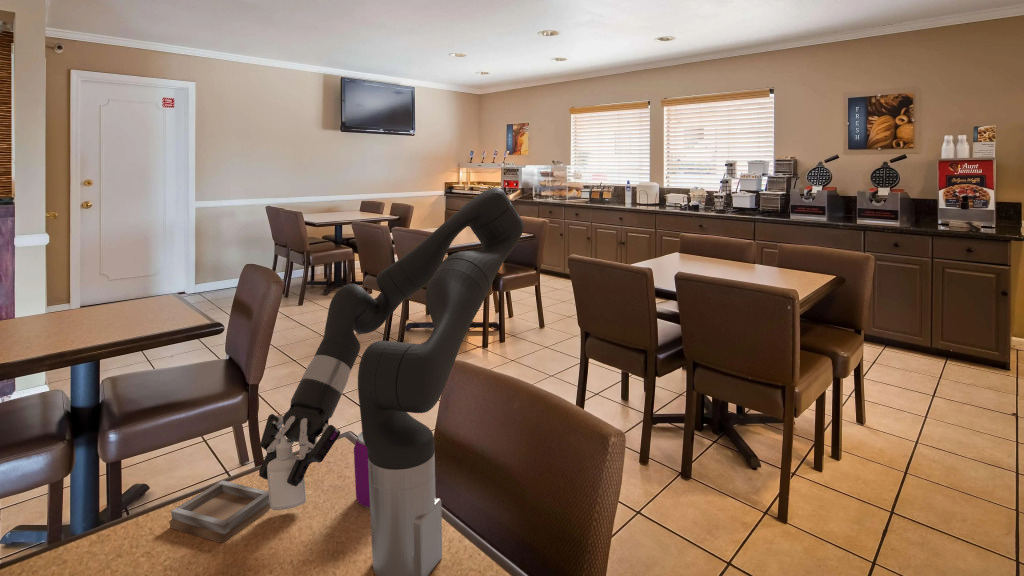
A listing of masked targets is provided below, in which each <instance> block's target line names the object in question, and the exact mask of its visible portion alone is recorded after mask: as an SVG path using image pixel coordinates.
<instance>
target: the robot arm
mask: <svg viewBox="0 0 1024 576" xmlns="http://www.w3.org/2000/svg"><path fill="white" fill-rule="evenodd" d="M524 226H525V224H524V221H523V219H522V217H521V215H520V214H519V212H518V210H517V209H516V208H515V206H514V205H513V203H512V201H511V200H510V198H509V197H508V195H507V193H505V191H504V190H503V189H502V188H500V187H492V188H490V189H489V188H488V189H486V190H484V191H482V192H481V193H479V194H477V195H475V197H473V198H472V199H470V200H469V201H468V202H467V203H465V205H463V206H462V207H461V208H459V210H457V211H455V213H454V214H453V215H451V217H449V218H448V219H447V220H446V221H444V222H443V223H442V224H441V225H440V226H439V227H437V228H436V229H435V230H434V231H433V232H432V233H431V234H430V235H429V236H428V237H427V238H426V239H424V241H422V242H421V243H420V244H418V245H417V246H416V247H415V248H413V249H412V250H411V251H409V252H407V254H405V255H403V256H402V257H401V258H400V259H397V260H396V261H395V262H394V263H392V264H391V265H389V266H387V267H386V268H385V269H383V270H381V272H379V273H378V274H377V276H376V278H375V280H376V285H377V287H378V289H379V291H380V292H379V294H378V295H377V297H375V298H373V297H372V296H371V294H369V293H368V292H367V291H366V289H365V288H363V287H362V286H360V285H359V284H358V283H357V284H356V283H348V284H345V285H343V286H342V287H340V288H339V289H338V290H337V291H336V292H335V294H334V295H333V296H332V298H331V301H330V303H329V307H328V312H327V315H326V317H327V318H326V322H325V327H324V333H323V338H322V340H321V342H320V344H319V346H318V348H317V350H316V352H315V354H314V356H313V358H312V359H311V361H310V362H309V364H308V365H307V367H306V369H305V370H304V373H303V375H302V376H301V379H300V381H299V383H298V384H297V387H296V389H295V391H294V392H293V395H292V397H291V399H290V407H289V409H288V410H287V411H286V412H285V413H284V415H275V414H274V413H270V414H269V415H268V416H267V419H266V424H265V427H264V430H263V434H262V437H261V441H260V443H259V446H260V448H262V449H263V450H264V451H266V455H265V457H264V459H263V461H262V463H261V466H260V467H259V471H258V473H259V474H258V476H259V478H262V479H264V480H267V481H268V476H267V465H268V463H269V462H270V461H272V460H274V459H275V458H277V453H276V446H277V445H278V444H280V442H281V437H284V436H285V437H286V440H287V442H290V443H291V444H292V445H293V444H294V443H298V446H299V452H298V456H299V460H296V462H295V464H294V466H293V468H292V470H291V473H290V475H289V477H288V479H287V483H288V484H290V485H292V486H297V485H298V484H299V483H300V482H301V481H302V480H303V477H304V478H305V476H306V475H305V474H307V473H306V472H307V470H308V468H309V466H310V465H312V464H313V463H319V464H320V463H321V462H323V461H324V459H325V457H326V456H327V455H328V454H329V452H330V450H331V449H332V447H333V446H334V445H335V442H337V439H338V438H339V436H340V435H341V430H339V429H338V428H337V427H336V426H334V425H333V424H329V420H330V419H331V418H332V417H333V416H334V413H335V411H336V409H337V406H338V403H339V402H340V399H341V397H342V395H343V394H344V390H345V389H346V386H347V383H348V380H349V377H350V374H351V371H352V369H353V367H354V365H355V362H356V360H357V358H358V355H359V354H360V352H361V351H360V350H361V343H360V341H359V339H358V338H357V336H356V334H355V333H357V334H360V335H364V334H370V333H372V332H374V331H377V330H379V328H380V327H381V326H383V324H384V323H385V322H386V321H387V320H388V319H389V318H390V316H391V315H392V314H393V313H394V312H395V311H396V309H397V308H398V307H399V306H400V305H401V304H402V303H403V302H404V301H405V300H407V299H408V298H410V297H411V296H413V295H414V294H415V293H418V291H420V290H422V289H423V288H424V287H426V286H427V287H426V291H425V301H426V306H427V310H428V313H429V316H430V319H431V321H432V325H433V326H432V327H433V329H432V332H431V333H430V335H429V337H428V339H427V340H425V341H424V342H423V343H410V342H401V341H390V340H378V341H374V342H372V343H370V344H369V345H368V346H367V347H366V349H365V350H364V352H363V354H362V355H361V359H360V361H359V364H358V371H357V393H358V402H359V403H358V404H359V411H360V412H359V413H360V421H361V422H360V424H361V432H362V435H363V440H364V443H365V445H366V447H367V451H368V469H369V493H370V508H369V509H370V510H369V511H370V513H369V514H370V535H371V556H372V557H371V558H372V559H371V560H372V569H373V573H374V574H375V575H376V576H430V574H431V573H432V571H433V570H434V569H435V567H436V566H437V564H438V563H439V562H440V560H441V559H442V558H443V527H442V526H443V522H442V520H443V518H442V499H441V498H439V497H436V461H435V459H436V457H435V456H436V455H435V454H436V453H435V451H436V450H435V437H434V436H435V435H434V434H433V432H432V430H431V428H430V427H428V426H427V425H425V424H424V423H423V422H421V421H419V420H417V419H416V418H415V417H414V416H411V415H410V413H411V414H425V413H428V412H430V411H431V410H432V409H433V408H434V407H435V406H436V405H437V403H438V402H439V400H440V398H441V397H442V395H443V392H444V390H445V388H446V385H447V383H448V380H449V377H450V375H451V372H452V370H453V367H454V364H455V361H456V359H457V356H458V353H459V351H460V349H461V345H462V344H463V341H464V339H465V337H466V335H467V333H468V331H469V329H470V328H471V325H472V322H473V321H474V319H475V317H476V315H477V313H478V312H479V311H480V308H481V307H482V305H483V303H484V301H485V299H486V296H487V295H488V293H489V290H490V288H491V286H492V284H493V282H494V280H495V278H496V276H497V275H498V273H499V271H500V268H501V267H502V265H503V263H504V262H505V261H506V259H507V258H508V256H509V255H510V253H511V252H512V251H513V250H514V247H515V246H516V245H517V243H518V242H519V240H520V239H521V237H522V235H523V232H524V228H525V227H524ZM467 227H469V228H470V229H471V231H472V232H473V234H474V235H475V237H476V238H477V239H478V241H479V242H480V244H481V250H476V249H475V250H462V251H458V252H455V253H452V254H449V255H448V256H447V257H446V258H445V256H446V254H447V252H448V250H449V249H450V246H451V245H452V243H453V241H454V240H455V239H456V237H457V236H458V235H459V234H460V233H461V232H462V231H463V230H465V228H467ZM320 435H321V436H320ZM319 436H320V437H319ZM318 437H319V439H318Z"/></svg>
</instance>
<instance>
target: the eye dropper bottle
mask: <svg viewBox="0 0 1024 576" xmlns="http://www.w3.org/2000/svg"><path fill="white" fill-rule="evenodd" d="M286 439H287V438H286V436H284V437H281V442H280V444H278V445H277V446H276V453H277V458H275V459H274V460H272V461H270V462H269V463H268V465H267V476H268V480H267V487H268V488H267V489H268V492H269V502H270V509H271V510H272V511H284V510H291V509H294V508H297V507H300V506H302V505H304V504H306V501H307V498H306V496H307V495H306V481H305V476H304V477H303V480H302V481H301V482H300V483H299V484H298V485H297V486H292V485H290V484H288V483H287V479H288V477H289V475H290V473H291V470H292V468H293V466H294V464H295V462H296V460H299V455H296V454H295V455H294V454H293V444H291V443H290V442H287V440H286Z"/></svg>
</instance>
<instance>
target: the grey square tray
mask: <svg viewBox="0 0 1024 576" xmlns="http://www.w3.org/2000/svg"><path fill="white" fill-rule="evenodd" d="M270 509H271V508H270V502H269V490H264V489H259V488H255V487H252V486H246V485H245V484H244V485H243V484H239V483H236V482H232V481H227V480H223V479H222V480H220V481H218V482H216V483H215V484H214V485H213V484H212V485H211V486H210V487H209V488H207V489H205V490H203V491H201V493H198V494H197V495H195V496H193V497H191V498H190V499H188V500H187V501H185V502H183V503H182V504H180V505H178V506H177V507H175V508H174V509H172V510H170V514H171V520H169V521H168V522H169V529H173V530H176V531H180V532H182V533H187V534H189V535H193V536H197V537H200V538H203V539H208V540H211V541H213V542H217V543H220V544H223V543H226V542H227V541H228V540H229V539H231V538H232V537H233V536H235V535H236V534H237V533H239V532H240V531H242V530H243V529H244V528H246V527H247V526H248V525H250V524H251V523H253V522H254V521H256V520H257V519H258V518H259V517H261V516H262V515H264V514H265V513H266V512H267V511H269V510H270Z"/></svg>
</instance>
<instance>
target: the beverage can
mask: <svg viewBox="0 0 1024 576" xmlns="http://www.w3.org/2000/svg"><path fill="white" fill-rule="evenodd" d="M353 458H354V459H353V461H354V478H355V479H354V481H355V482H354V483H355V497H356V498H355V499H356V501H357V502H358V504H360V505H361V506H362V507H364V508H366V509H370V493H369V469H368V451H367V447H366V445H365V443H364V440H363V435H362V431H361V432H360V433H358V435H357V438H356V441H355V444H354V447H353Z"/></svg>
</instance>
